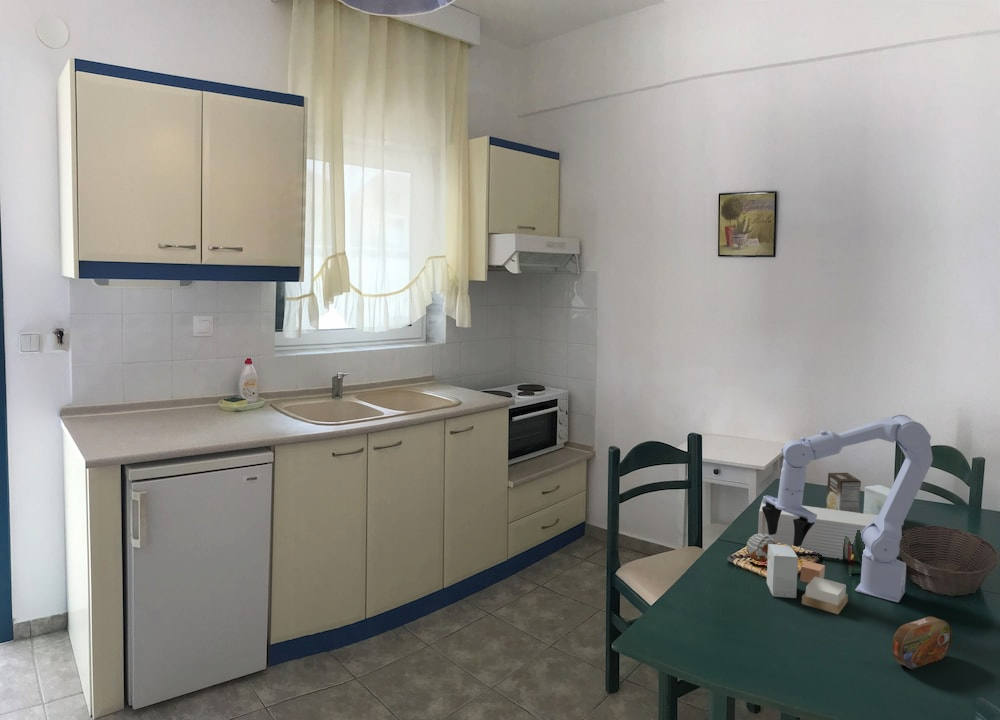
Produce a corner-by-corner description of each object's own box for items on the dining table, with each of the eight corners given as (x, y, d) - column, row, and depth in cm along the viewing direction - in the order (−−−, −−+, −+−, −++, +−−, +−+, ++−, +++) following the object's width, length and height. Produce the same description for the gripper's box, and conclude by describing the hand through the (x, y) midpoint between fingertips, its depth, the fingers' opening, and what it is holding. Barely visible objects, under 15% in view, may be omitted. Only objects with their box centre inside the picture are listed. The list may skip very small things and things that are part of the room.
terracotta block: (824, 580, 175) (824, 565, 175) (818, 586, 172) (819, 571, 171) (805, 575, 178) (806, 560, 177) (800, 581, 175) (801, 566, 174)
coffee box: (824, 520, 218) (826, 472, 216) (844, 521, 218) (847, 472, 216) (837, 531, 209) (840, 480, 207) (858, 531, 209) (862, 480, 207)
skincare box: (861, 517, 222) (863, 485, 220) (878, 515, 223) (880, 484, 222) (887, 528, 212) (889, 495, 210) (904, 526, 213) (906, 494, 212)
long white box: (757, 546, 197) (759, 510, 196) (760, 534, 207) (762, 500, 206) (883, 566, 184) (886, 528, 182) (880, 552, 193) (883, 515, 192)
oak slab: (847, 604, 163) (847, 594, 163) (837, 616, 157) (838, 606, 157) (811, 594, 168) (812, 584, 168) (801, 605, 162) (802, 595, 162)
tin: (902, 673, 133) (905, 633, 132) (887, 665, 136) (890, 625, 135) (952, 656, 139) (955, 617, 138) (937, 649, 142) (940, 611, 141)
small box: (796, 599, 164) (798, 557, 163) (772, 597, 166) (774, 555, 164) (789, 584, 172) (791, 544, 171) (766, 582, 173) (768, 543, 172)
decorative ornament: (763, 570, 181) (766, 516, 179) (740, 560, 187) (742, 507, 186) (783, 564, 185) (785, 511, 183) (759, 554, 191) (761, 502, 190)
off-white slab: (845, 594, 162) (846, 584, 162) (837, 605, 157) (837, 595, 157) (814, 586, 167) (815, 576, 167) (805, 596, 162) (806, 586, 161)
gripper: (757, 480, 175) (750, 531, 177) (806, 499, 163) (798, 553, 165) (775, 478, 179) (769, 527, 181) (825, 496, 166) (817, 549, 168)
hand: (784, 539), depth 173 cm, fingers open, 7 cm apart
